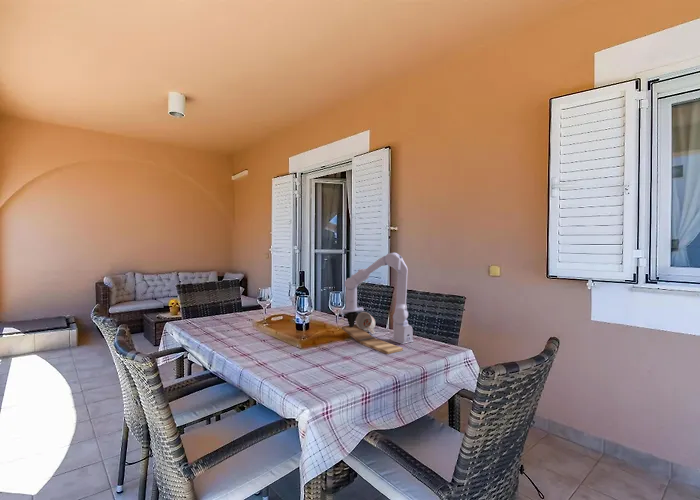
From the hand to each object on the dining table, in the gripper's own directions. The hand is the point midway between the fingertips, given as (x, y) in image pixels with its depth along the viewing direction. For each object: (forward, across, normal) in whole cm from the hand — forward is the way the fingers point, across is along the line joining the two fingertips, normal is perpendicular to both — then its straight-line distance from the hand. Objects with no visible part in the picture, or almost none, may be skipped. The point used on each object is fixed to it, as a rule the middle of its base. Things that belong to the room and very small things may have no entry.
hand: (351, 326), depth 191 cm
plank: (+3, 0, +5) cm, 6 cm away
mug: (+2, -14, -2) cm, 14 cm away
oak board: (+5, 0, +23) cm, 24 cm away
